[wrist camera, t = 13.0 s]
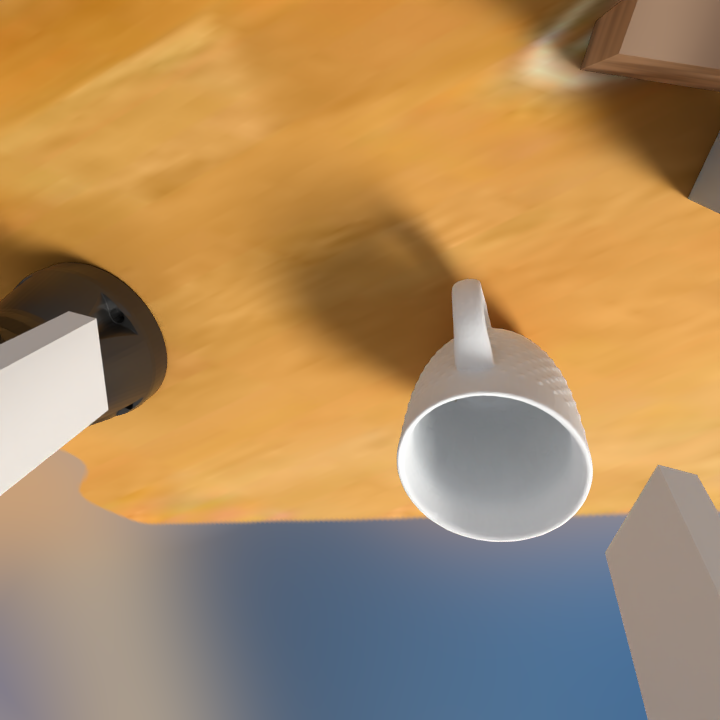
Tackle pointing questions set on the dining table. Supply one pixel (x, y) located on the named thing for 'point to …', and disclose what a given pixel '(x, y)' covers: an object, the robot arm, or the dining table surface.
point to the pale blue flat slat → (709, 180)
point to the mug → (493, 433)
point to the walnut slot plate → (659, 42)
